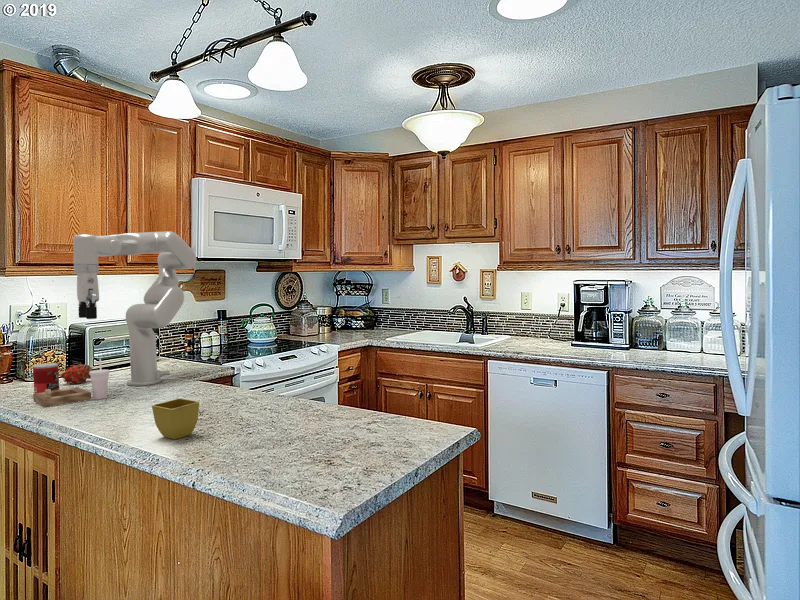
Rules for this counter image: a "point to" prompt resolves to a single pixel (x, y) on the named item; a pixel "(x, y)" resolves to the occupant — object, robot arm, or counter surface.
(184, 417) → the flower pot
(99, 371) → the smoothie
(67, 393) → the wooden tray
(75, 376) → the dragon fruit
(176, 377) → the counter surface
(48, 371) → the canned food
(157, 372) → the robot arm
